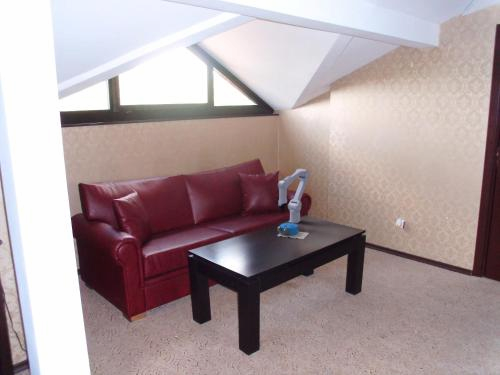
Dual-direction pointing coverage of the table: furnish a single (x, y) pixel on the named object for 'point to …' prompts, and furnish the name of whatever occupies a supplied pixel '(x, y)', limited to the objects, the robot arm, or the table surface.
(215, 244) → the table surface
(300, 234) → the mat
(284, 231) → the alarm clock
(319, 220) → the table surface
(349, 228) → the table surface
